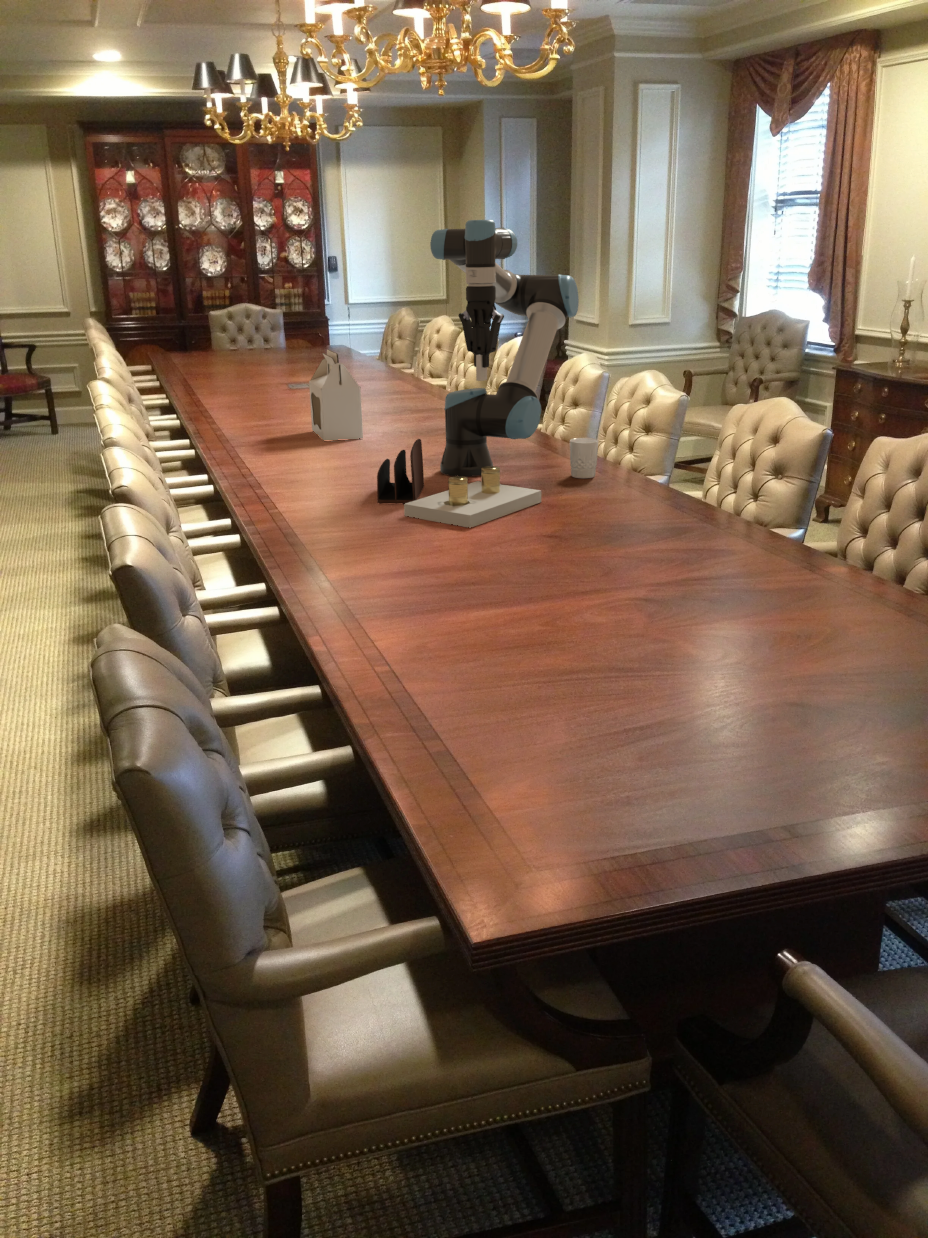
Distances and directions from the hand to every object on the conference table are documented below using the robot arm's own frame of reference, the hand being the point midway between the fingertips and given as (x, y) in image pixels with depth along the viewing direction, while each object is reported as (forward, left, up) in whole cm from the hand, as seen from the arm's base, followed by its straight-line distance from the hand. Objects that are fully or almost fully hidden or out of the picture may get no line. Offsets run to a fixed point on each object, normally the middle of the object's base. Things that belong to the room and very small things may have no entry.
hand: (481, 379), depth 275 cm
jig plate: (+12, -20, -28) cm, 37 cm away
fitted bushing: (+12, -13, -28) cm, 33 cm away
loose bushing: (+12, -27, -28) cm, 41 cm away
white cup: (+15, +27, -29) cm, 42 cm away
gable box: (-89, +37, -29) cm, 101 cm away
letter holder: (-13, -18, -29) cm, 37 cm away
